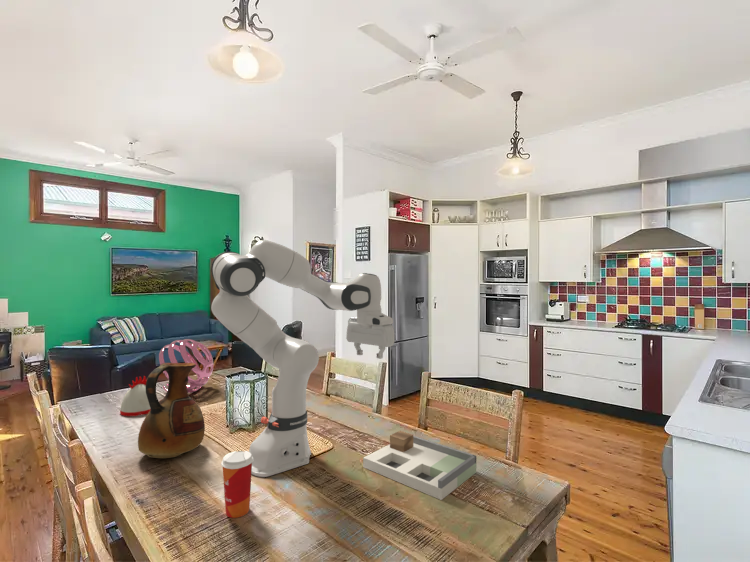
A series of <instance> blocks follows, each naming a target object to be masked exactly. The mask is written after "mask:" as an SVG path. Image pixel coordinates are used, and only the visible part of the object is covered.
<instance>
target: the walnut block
mask: <svg viewBox="0 0 750 562" xmlns="http://www.w3.org/2000/svg"><path fill="white" fill-rule="evenodd" d="M413 436H414V434H413V433H409V432H406V431H403V430H398V431H396V432H395V433H392V434H390V435H389V444H390V448H392V449H395V450H398V451H401V452H405V451H407V450H409V449H411V448H412V447H413Z"/></svg>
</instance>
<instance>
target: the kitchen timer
mask: <svg viewBox="0 0 750 562" xmlns="http://www.w3.org/2000/svg"><path fill="white" fill-rule="evenodd" d="M131 381H132V385H131V384H130V383H128V386H129V388H128V390H127V391H126V393H125V394H124V396H123V399H122V401H121V404H120V407H119V408H120V409H119V413H120V415H121V416H124V417H137V416H143V415H147V414H148V413H149V411H150V410H151V408H150V405H149V402H148V399H147V395H146V381H147V377H146V376H145V375H143V378H142V376H136V377H135V381H134V379H133V380H131Z"/></svg>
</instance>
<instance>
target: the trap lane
mask: <svg viewBox="0 0 750 562" xmlns="http://www.w3.org/2000/svg"><path fill="white" fill-rule="evenodd" d="M362 458H363V459H362V461H363V462H362V463H363V464H362V467H363V468H364V469H366V470H369V471H371V472H373V473H375V474H378V475H381V476H384V477H385V478H388V479H390V480H393V481H395V482H398V483H400V484H403V485H405V486H407V487H409V488H412V489H414V490H416V491H419V492H421V493H424V494H426V495H428V496H430V497H432V498H436V499H437V500H440V501H442V500H443V499H444V498H446V497H447V496H448V495H449V494H451V493H452V492H453V491H455V490H456V489H457V488H458V487H460V486H461V485H462V484H463V483H465V482H466V481H467V480H469V479H470V478H471V477H472V476H474V475H475V474H476V473H477V455H475V454H472V453H469V452H466V451H463V450H459V449H456V448H453V447H450V446H447V445H443V444H441V443H438V442H435V441H432V440H427V439H425V438H422V437H419V436H416V435H413V447H412V448H411V449H409V450H407V451H405V452H401V451H398V450H395V449H392V448H390V443H389V444H387V445H386V446H383V447H381V448H380V449H378V450H375V451H374V452H372V453H370V454H367V455H365V456H364V457H362Z"/></svg>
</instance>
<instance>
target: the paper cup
mask: <svg viewBox="0 0 750 562" xmlns="http://www.w3.org/2000/svg"><path fill="white" fill-rule="evenodd" d="M252 462H253V457H252V455H251V453H250V452H249V450H244V451H243V450H240V451H239V450H238V451H236V450H235V451H232V452H229V453H226V454H225V455H224V456H223V457H222V461H221V463H220V465H221V467H222V475H223V476H222V479H223V491H224V492H223V493H224V495H223V496H224V506H225V515H226V516H227V517H228V518H230V519H237V518H238V519H239V518H241V517H244V516H246V515H247V514H248V513H249V511H250V502H251V492H252V491H251V490H252V489H251V488H252V487H251V485H252V474H251V472H252Z"/></svg>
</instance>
